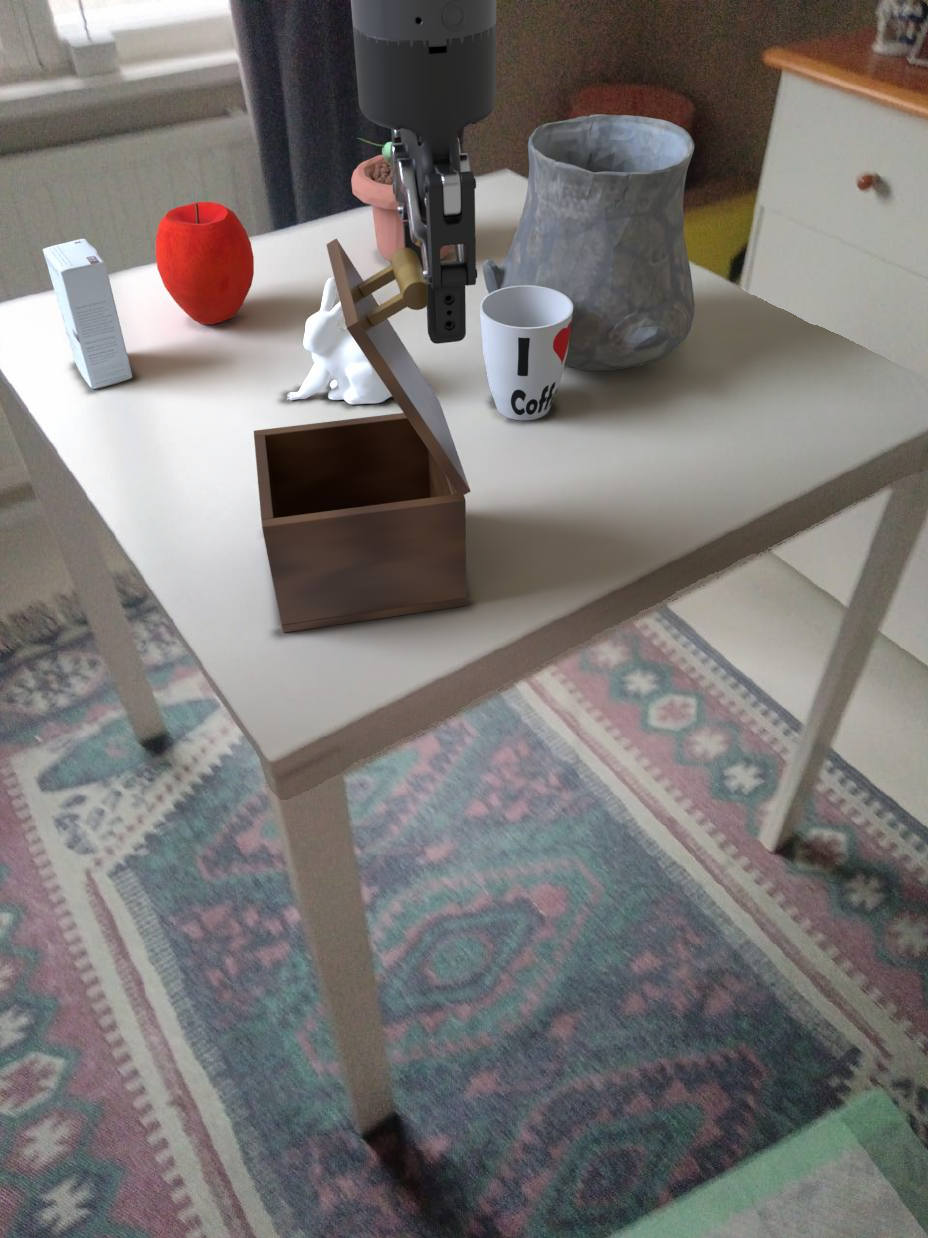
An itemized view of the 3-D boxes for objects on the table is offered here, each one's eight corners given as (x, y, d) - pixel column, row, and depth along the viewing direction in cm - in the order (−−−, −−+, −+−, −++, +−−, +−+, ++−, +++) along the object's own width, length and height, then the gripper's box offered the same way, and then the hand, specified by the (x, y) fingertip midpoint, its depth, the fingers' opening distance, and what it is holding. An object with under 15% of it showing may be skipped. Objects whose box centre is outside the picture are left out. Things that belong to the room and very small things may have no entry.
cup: (506, 438, 88) (508, 336, 81) (465, 396, 94) (463, 297, 87) (582, 415, 91) (591, 314, 84) (538, 375, 96) (542, 277, 89)
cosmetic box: (74, 365, 99) (36, 246, 90) (118, 352, 100) (84, 235, 92) (93, 392, 95) (55, 271, 86) (138, 379, 96) (105, 259, 88)
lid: (346, 327, 56) (422, 282, 55) (325, 244, 64) (391, 203, 63) (460, 497, 66) (526, 461, 65) (430, 405, 74) (488, 372, 73)
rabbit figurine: (284, 400, 93) (269, 305, 87) (308, 361, 99) (295, 268, 92) (406, 412, 92) (401, 315, 85) (424, 371, 97) (420, 277, 90)
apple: (231, 348, 101) (208, 230, 92) (150, 331, 103) (121, 215, 95) (279, 305, 107) (262, 192, 99) (202, 291, 110) (179, 179, 102)
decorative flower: (504, 252, 116) (510, -48, 96) (425, 293, 109) (412, -23, 88) (413, 220, 124) (400, -66, 103) (333, 256, 116) (301, -45, 95)
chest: (282, 633, 71) (261, 526, 64) (272, 533, 79) (253, 430, 72) (467, 605, 73) (465, 499, 66) (438, 511, 81) (435, 408, 74)
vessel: (538, 423, 90) (549, 203, 76) (461, 316, 105) (458, 116, 91) (747, 381, 95) (793, 167, 81) (644, 285, 110) (668, 90, 96)
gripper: (337, -13, 55) (361, 265, 67) (370, 56, 45) (392, 370, 57) (467, -21, 56) (469, 255, 68) (528, 45, 46) (518, 356, 58)
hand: (434, 307), depth 62 cm, fingers open, 8 cm apart
